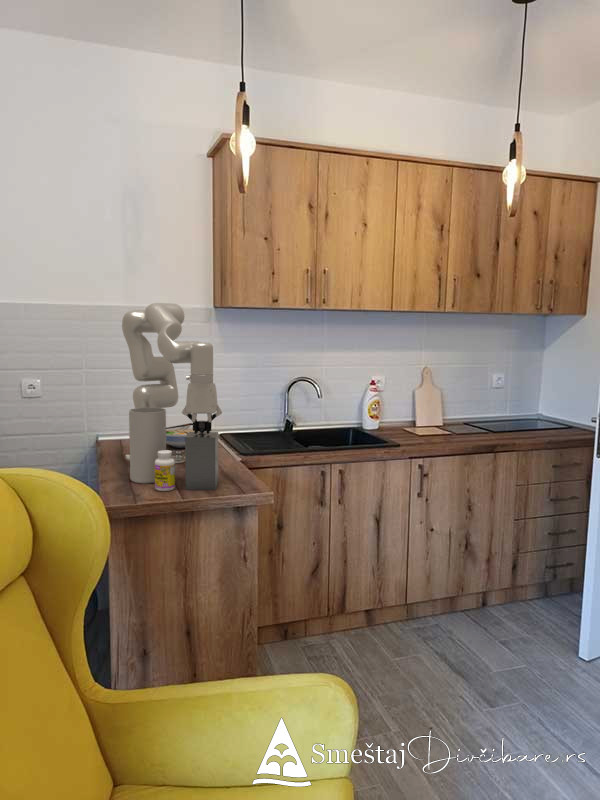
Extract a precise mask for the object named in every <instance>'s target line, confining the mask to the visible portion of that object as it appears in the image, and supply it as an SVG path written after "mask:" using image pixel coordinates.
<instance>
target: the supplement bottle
mask: <svg viewBox="0 0 600 800" xmlns="http://www.w3.org/2000/svg"><path fill="white" fill-rule="evenodd" d="M172 455H173V451H172V450H168V449H166V450H162V451H158V459H156V460H155V483H154V489H155V490H156V491H160V492H170V491H172V490H174V489H175V487H176V460H175V459H174V458H172Z"/></svg>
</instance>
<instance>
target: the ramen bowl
mask: <svg viewBox="0 0 600 800" xmlns="http://www.w3.org/2000/svg"><path fill="white" fill-rule="evenodd" d="M189 432H195V431H193V422H189V423H184V424H179V425H173V426H166V445H170V446H172V447H173V448H177V449H179V448H180V449H182V448H183V449H184V448H185V437H186V435H187V434H188V433H189ZM198 432H199V431H198ZM205 432H207V431H205Z"/></svg>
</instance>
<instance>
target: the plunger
mask: <svg viewBox="0 0 600 800" xmlns="http://www.w3.org/2000/svg"><path fill="white" fill-rule="evenodd" d="M197 431H199V432H200V435H204V432H205V431H207V420H197Z"/></svg>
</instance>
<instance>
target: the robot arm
mask: <svg viewBox="0 0 600 800" xmlns="http://www.w3.org/2000/svg"><path fill="white" fill-rule="evenodd" d="M184 312H185V311H184V309H183V307H181V306H180V305H179V304H177V303H172V302H171V303H165V302H164V303H163V302H154V303H151V304H149V305H147V306H146V307H145V308H144V310H143V309H142V310H141V309H139V310H136V309H135V310H130V311H127V312H126V313H125V314H124V315H123V317H122V321H121V323H122V324H121V328H122V333H123V336H124V339H125V341H126V344H127V346H128V350H129V357H130V363H131V368H132V374H133V377H134V379H135V380H136V381H138V382H159V383H149V384H141V385H138V386H137V387H135V388H134V390H133V393H132V400H133V405H134V408H148V407H151V408H163V409H166V408H172V407H173V408H174V407H175V406H177V404H178V403H179V390H178V385H177V378H176V373H175V366H174V365H175V364H177V365H178V364H190V374H189V375H186V377H185V378H186V381H189V383H188V384H187V388H186V401H185V403H186V404H185V406H184V408H183V409H182V411H181V414H182V415H184V416H185V417H188V419H189V420H190V421H191V423H192V424H193V425H192V426H193V431H195V434H196V433H197V432H198V431H197V421H198V419H197V417H198V414H203V415H204V414H205V415H206V414H207V415H206V417H207V420H206V421H207V434H209V433H210V432H212V422H213V420H215V418H217V417H219V416H221V415H222V414H223V412H222V410H221V408H220V406H219V404H218V393H217V392H218V391H217V386H216V383H215V382H214V346H213V344H212V343H211V342H202V341H198V340H191V341H189V340H180V341H178V340H177V341H176V339H178V338H179V336H180V335H181V333H182V329H183V327H182V324H183V323H184V321H185V313H184ZM143 333H144V334H145V333H146V334H147V333H148V334H149V333H150V334H151V333H153V334H154V333H156V334H158V335H157V340H156V343H157V347H158V348H157V349H158V350H159V353H160V354H161V355H162V356H154V353H153V348H152V344H151V342H150V341H149V340H148V338H147V337H146V336H145V335H144V334H143ZM173 364H174V365H173ZM125 460H127V461H130V454H125Z"/></svg>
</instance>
